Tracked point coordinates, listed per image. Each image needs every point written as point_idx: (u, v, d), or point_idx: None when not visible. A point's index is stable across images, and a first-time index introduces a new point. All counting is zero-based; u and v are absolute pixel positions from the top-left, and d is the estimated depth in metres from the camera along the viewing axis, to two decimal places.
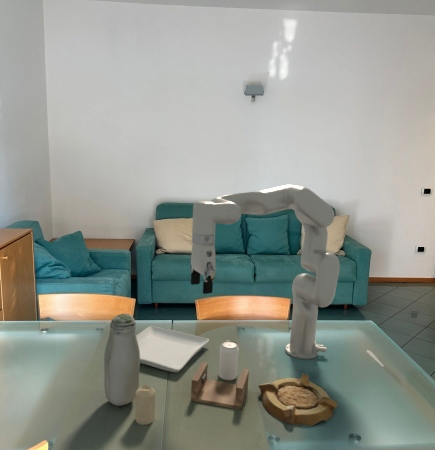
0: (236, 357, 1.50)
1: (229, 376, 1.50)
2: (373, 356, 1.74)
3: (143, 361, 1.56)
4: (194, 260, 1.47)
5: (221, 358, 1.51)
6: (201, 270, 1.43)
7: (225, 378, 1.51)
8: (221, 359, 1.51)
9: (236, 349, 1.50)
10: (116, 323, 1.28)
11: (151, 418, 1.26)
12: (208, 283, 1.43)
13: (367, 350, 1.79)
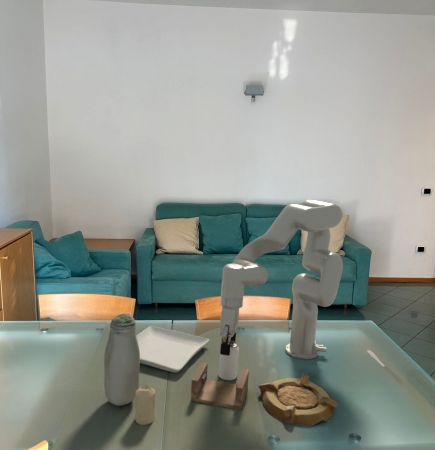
0: (236, 357, 1.50)
1: (229, 376, 1.50)
2: (374, 356, 1.74)
3: (143, 361, 1.56)
4: (236, 324, 1.48)
5: (221, 358, 1.51)
6: (237, 324, 1.54)
7: (225, 378, 1.51)
8: (221, 359, 1.51)
9: (236, 349, 1.50)
10: (116, 323, 1.28)
11: (151, 418, 1.26)
12: None
13: (368, 350, 1.79)
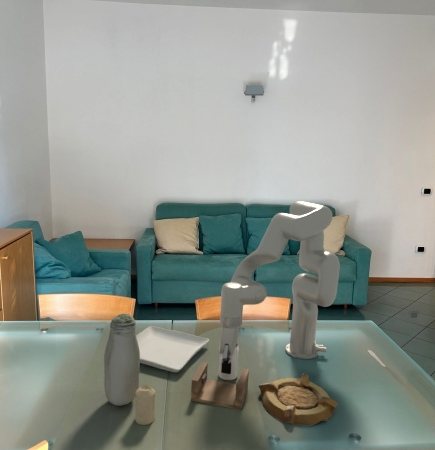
0: (236, 357, 1.50)
1: (229, 376, 1.50)
2: (374, 356, 1.74)
3: (143, 361, 1.56)
4: (236, 342, 1.50)
5: (221, 358, 1.51)
6: (237, 341, 1.55)
7: (225, 378, 1.51)
8: (221, 359, 1.51)
9: (236, 349, 1.50)
10: (116, 323, 1.28)
11: (151, 418, 1.26)
12: None
13: (368, 350, 1.79)
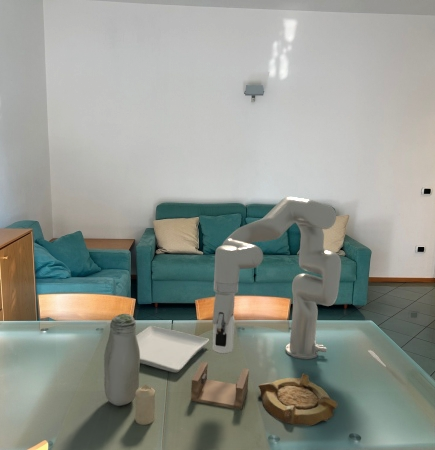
0: (232, 328, 1.36)
1: (223, 349, 1.36)
2: (375, 356, 1.74)
3: (143, 361, 1.56)
4: (231, 311, 1.35)
5: (215, 329, 1.36)
6: (233, 311, 1.41)
7: (219, 351, 1.36)
8: (215, 330, 1.36)
9: (232, 319, 1.36)
10: (116, 323, 1.28)
11: (151, 418, 1.26)
12: None
13: (369, 350, 1.79)
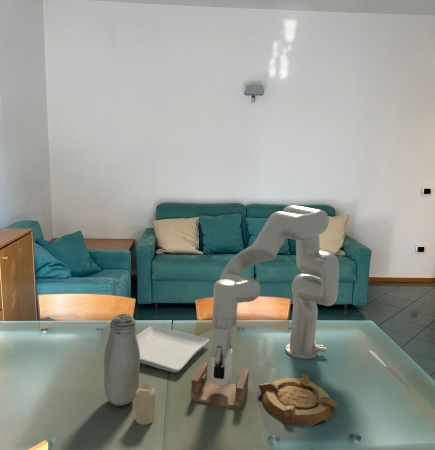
0: (230, 360, 1.38)
1: (221, 381, 1.38)
2: (375, 356, 1.74)
3: (143, 361, 1.56)
4: (229, 344, 1.37)
5: (213, 361, 1.38)
6: (231, 343, 1.43)
7: (217, 383, 1.38)
8: (213, 362, 1.38)
9: (230, 352, 1.38)
10: (116, 323, 1.28)
11: (151, 418, 1.26)
12: None
13: (369, 350, 1.79)
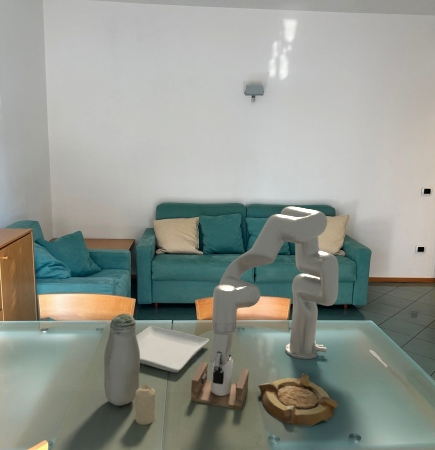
0: (230, 371, 1.39)
1: (221, 391, 1.39)
2: (376, 356, 1.74)
3: (143, 361, 1.56)
4: (229, 349, 1.38)
5: None
6: None
7: (217, 393, 1.39)
8: None
9: (230, 362, 1.39)
10: (116, 323, 1.28)
11: (151, 418, 1.26)
12: None
13: (370, 350, 1.79)
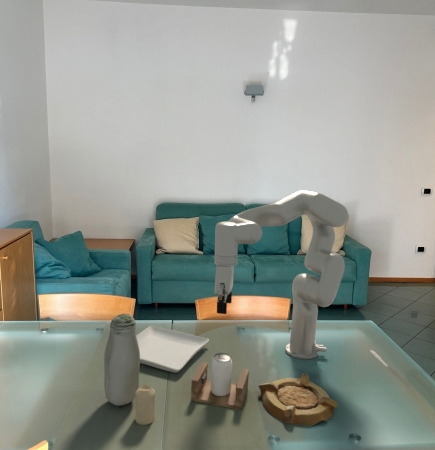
0: (229, 371, 1.39)
1: (221, 392, 1.39)
2: (377, 356, 1.74)
3: (143, 361, 1.56)
4: (231, 282, 1.47)
5: (213, 372, 1.39)
6: None
7: (217, 393, 1.39)
8: (213, 373, 1.39)
9: (229, 363, 1.39)
10: (116, 323, 1.28)
11: (151, 418, 1.26)
12: None
13: (370, 350, 1.79)
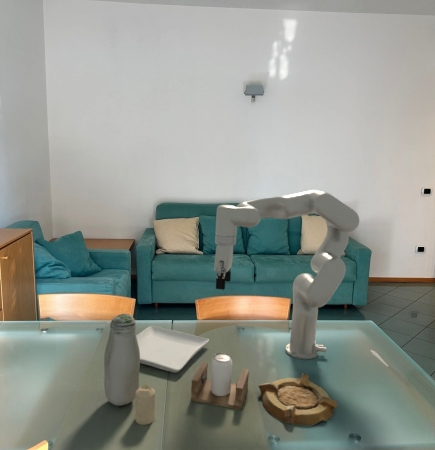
0: (229, 371, 1.39)
1: (221, 392, 1.39)
2: (377, 356, 1.74)
3: (143, 361, 1.56)
4: (230, 261, 1.59)
5: (213, 372, 1.39)
6: None
7: (217, 394, 1.39)
8: (213, 373, 1.39)
9: (229, 363, 1.39)
10: (116, 323, 1.28)
11: (151, 418, 1.26)
12: None
13: (371, 350, 1.79)
